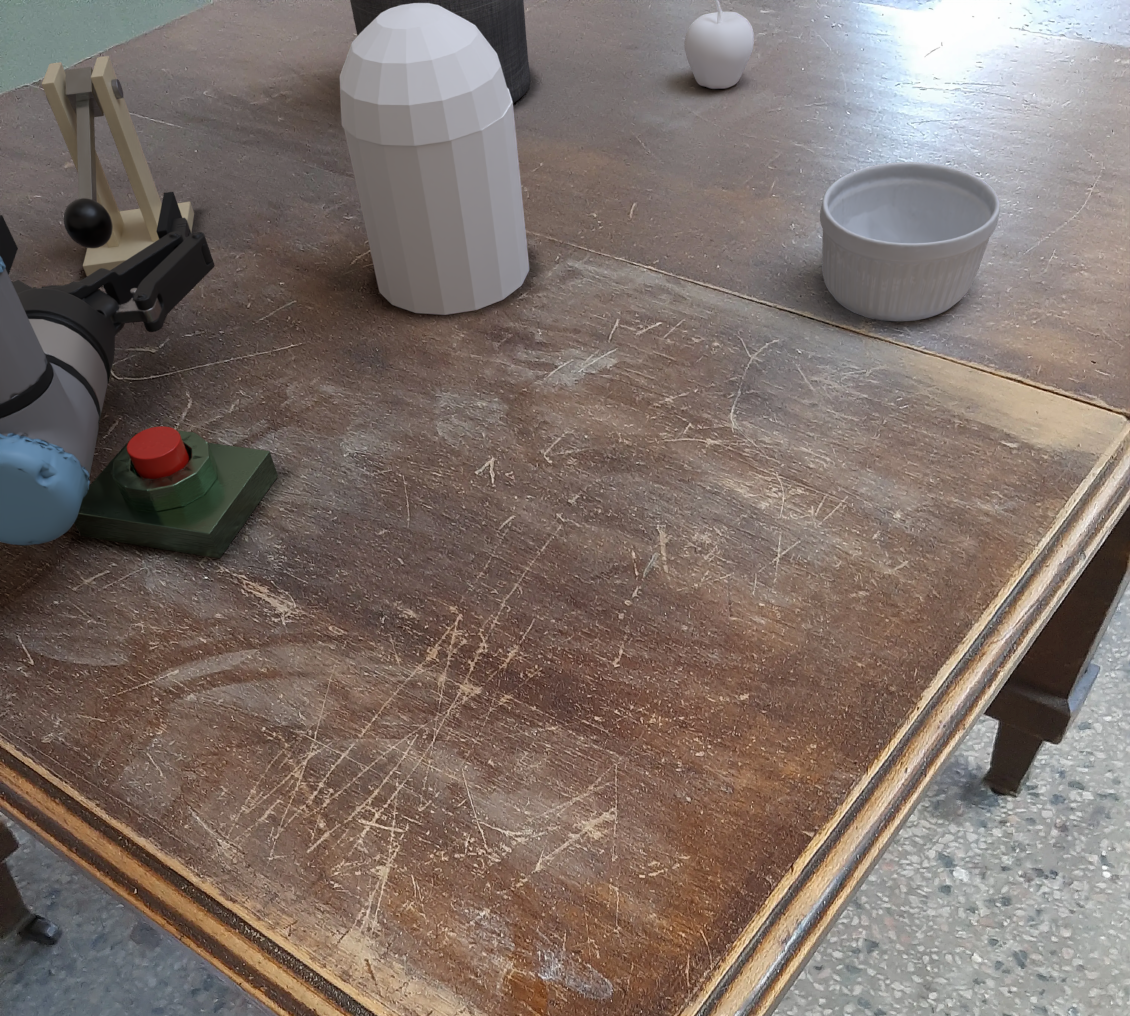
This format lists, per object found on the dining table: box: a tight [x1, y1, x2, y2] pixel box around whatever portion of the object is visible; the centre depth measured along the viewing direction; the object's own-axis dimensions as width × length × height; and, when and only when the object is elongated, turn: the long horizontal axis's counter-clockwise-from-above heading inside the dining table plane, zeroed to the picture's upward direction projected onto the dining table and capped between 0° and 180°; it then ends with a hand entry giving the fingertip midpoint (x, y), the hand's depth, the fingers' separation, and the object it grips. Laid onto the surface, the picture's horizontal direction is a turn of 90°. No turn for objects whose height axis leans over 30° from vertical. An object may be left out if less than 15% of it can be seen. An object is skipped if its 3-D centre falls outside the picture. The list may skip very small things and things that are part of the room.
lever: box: [63, 66, 113, 249], centre depth 89 cm, size 17×4×4 cm, turn 8°
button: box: [127, 425, 189, 479], centre depth 73 cm, size 4×4×2 cm
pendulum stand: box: [41, 55, 195, 277], centre depth 95 cm, size 10×9×15 cm
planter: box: [349, 0, 532, 104], centre depth 112 cm, size 18×18×16 cm
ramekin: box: [819, 161, 1001, 322], centre depth 85 cm, size 13×13×7 cm
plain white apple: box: [684, 0, 755, 90], centre depth 111 cm, size 7×7×8 cm
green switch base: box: [73, 429, 279, 559], centre depth 75 cm, size 11×9×4 cm
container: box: [339, 3, 530, 316], centre depth 86 cm, size 14×13×20 cm
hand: (90, 220), depth 87 cm, fingers open, 13 cm apart
